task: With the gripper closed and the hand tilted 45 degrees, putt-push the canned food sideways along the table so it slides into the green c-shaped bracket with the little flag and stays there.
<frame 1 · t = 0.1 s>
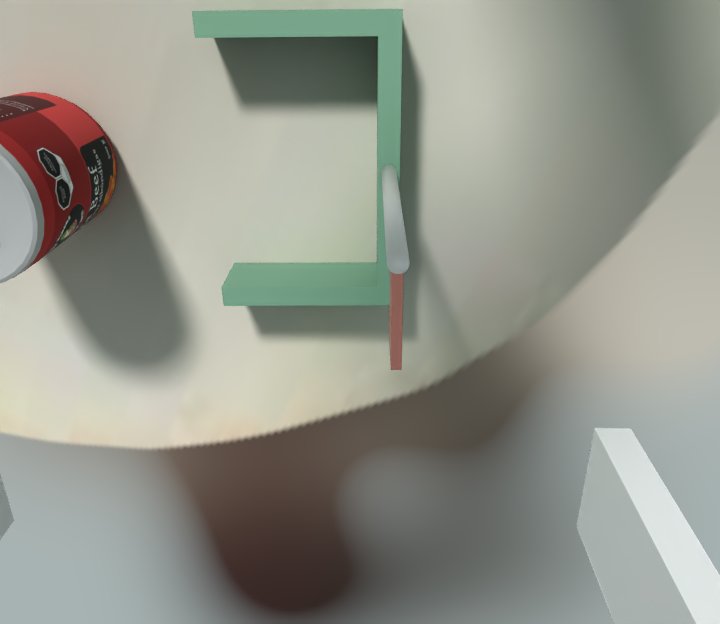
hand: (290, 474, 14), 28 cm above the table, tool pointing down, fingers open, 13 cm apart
canned food: (58, 157, 40), on the table
green c-shaped bracket: (320, 156, 39), on the table
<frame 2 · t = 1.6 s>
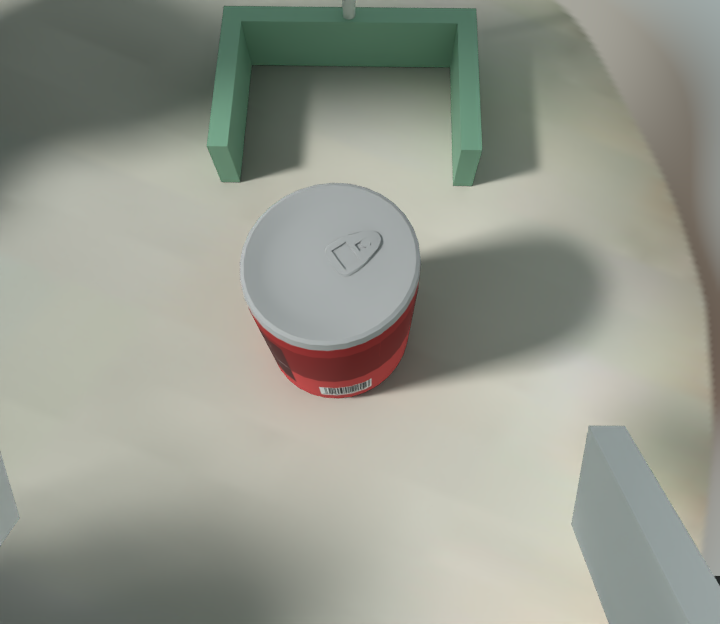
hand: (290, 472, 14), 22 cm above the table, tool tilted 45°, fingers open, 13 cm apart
canned food: (340, 337, 38), on the table
green c-shaped bracket: (349, 107, 44), on the table
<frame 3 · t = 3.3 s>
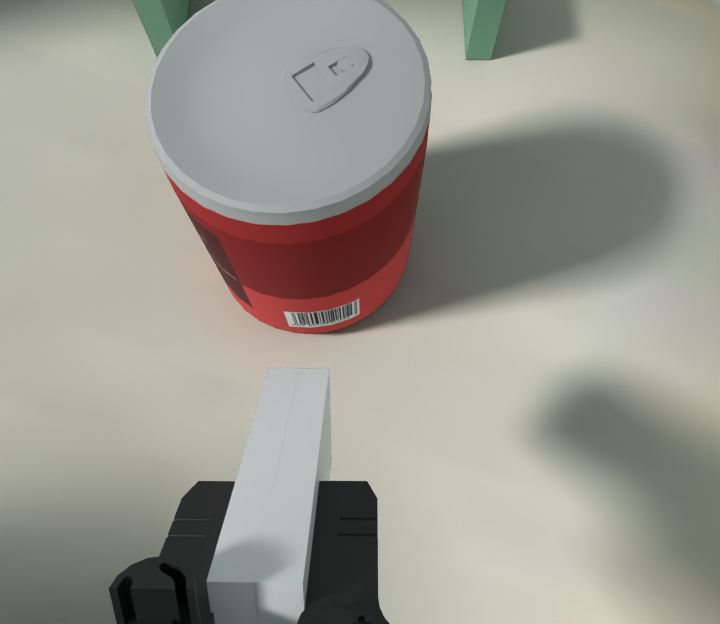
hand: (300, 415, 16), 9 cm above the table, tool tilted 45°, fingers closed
canned food: (317, 255, 28), on the table
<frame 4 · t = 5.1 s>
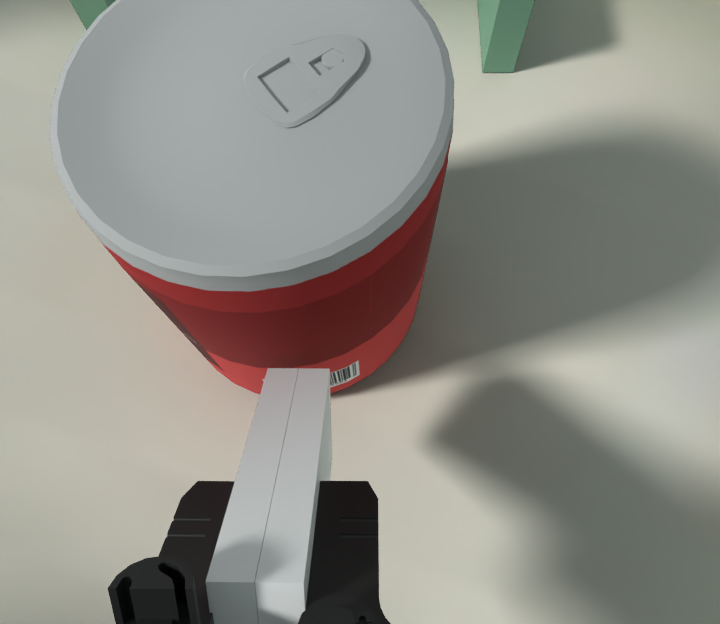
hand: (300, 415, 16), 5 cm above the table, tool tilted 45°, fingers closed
canned food: (306, 297, 23), on the table, touching gripper
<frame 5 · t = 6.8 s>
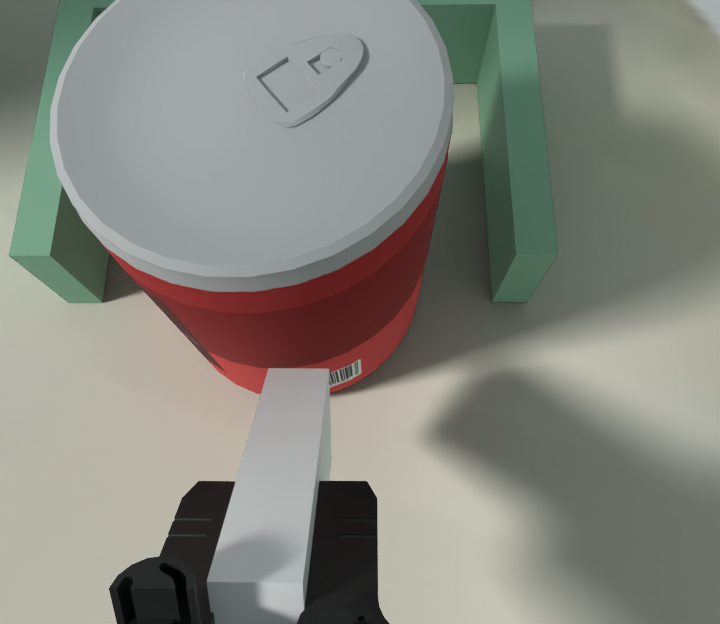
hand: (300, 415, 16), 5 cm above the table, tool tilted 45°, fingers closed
canned food: (306, 297, 23), on the table, touching gripper
green c-shaped bracket: (301, 158, 25), on the table
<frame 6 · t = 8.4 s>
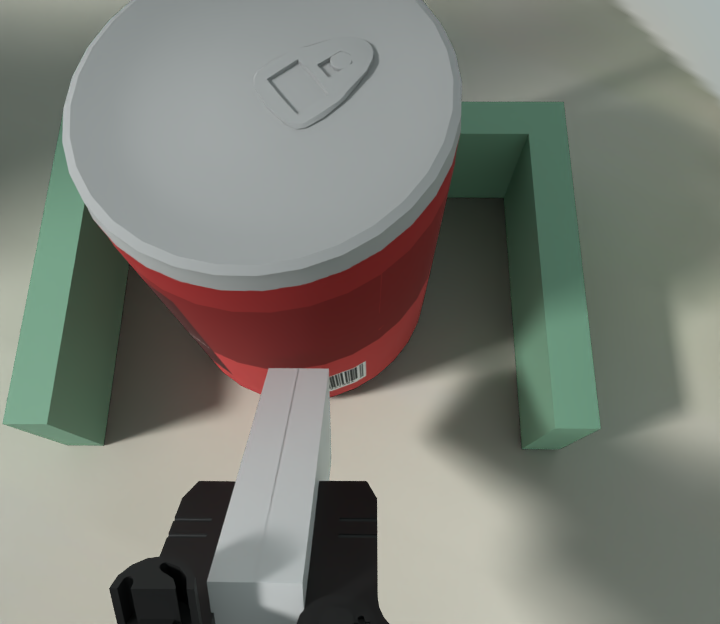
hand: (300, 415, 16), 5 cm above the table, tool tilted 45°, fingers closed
canned food: (311, 299, 23), on the table, touching gripper
green c-shaped bracket: (317, 281, 23), on the table
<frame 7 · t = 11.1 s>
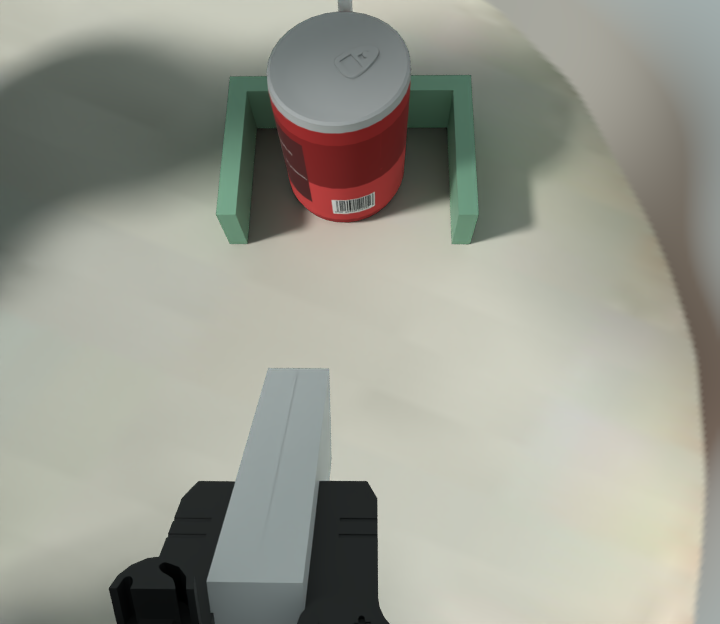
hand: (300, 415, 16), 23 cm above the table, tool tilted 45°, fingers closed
canned food: (347, 178, 46), on the table
green c-shaped bracket: (350, 168, 45), on the table
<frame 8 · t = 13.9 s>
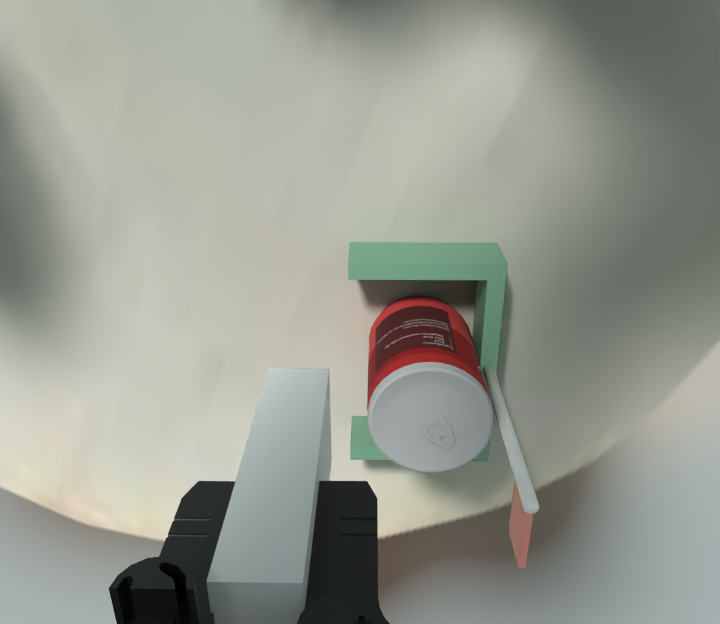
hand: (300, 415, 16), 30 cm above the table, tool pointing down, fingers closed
canned food: (419, 338, 50), on the table
green c-shaped bracket: (427, 342, 50), on the table
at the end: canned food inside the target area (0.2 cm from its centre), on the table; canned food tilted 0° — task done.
